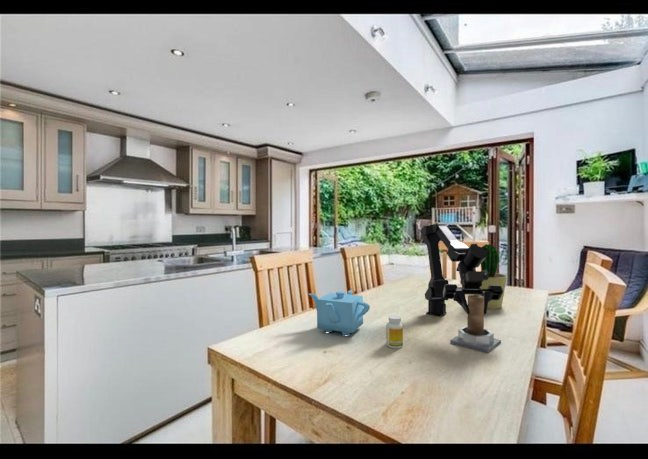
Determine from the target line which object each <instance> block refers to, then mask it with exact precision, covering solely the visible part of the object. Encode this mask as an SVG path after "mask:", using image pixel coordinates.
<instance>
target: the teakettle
mask: <svg viewBox="0 0 648 459" xmlns="http://www.w3.org/2000/svg"><path fill="white" fill-rule="evenodd" d="M353 292H354V291H353V290H352V289H350V290H348V291H347V293H346V292H345V291H341V290H340V291H336V292H329V293H327V294H325V295H323V296H321V297H319V296H318V295H317V294H315V293H308V295H309V296H310V297H311V298H312V299H313V301H314V306H315V310H316V328H317V329H319V330H324V332H325V331H326V332H332V333H333V331H334V332H341V335H342V334H343V335H349V334H350V335H351V334H354V333H355V332H356V331H357V330H358V329H359V328H360V327H361V326H362V325H363V324H364V316H365V315H366V314H368V312H369V310H370V308H371V306H370V304H369V303H367V302H364V296H363V295H357V294H353Z"/></svg>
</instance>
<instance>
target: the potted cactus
mask: <svg viewBox="0 0 648 459" xmlns="http://www.w3.org/2000/svg"><path fill="white" fill-rule="evenodd" d="M481 247H482V248H483V249H484V250H486V252H487V256H486V258H485V259H484V260H483V262H482V263H481V264H480V269H481V271H482V270H487V271H488V275H489V279H488V280H484V281H482V286H481V287H480V289H488V286H489V285H500V286H501V287H502V288H503V293H502V295H501V297H500V299H499V300H491V301H490V302H488V306H487V309H493V310H494V309H501V308H502V306H503V302H504V301H503V300H504V296H505V288H506V283H507V277H508V276H507V274H504V273H499V272H498V266H499V264H500V263H499V262H501V261H500V260H501V259H500V255H499V251H497V250H498V248H497V247H495V246H494V244H493V243H490V244H489V243H488V244H487V243H485V244H484V245H482V246H481ZM478 296H482V295H478Z"/></svg>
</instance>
